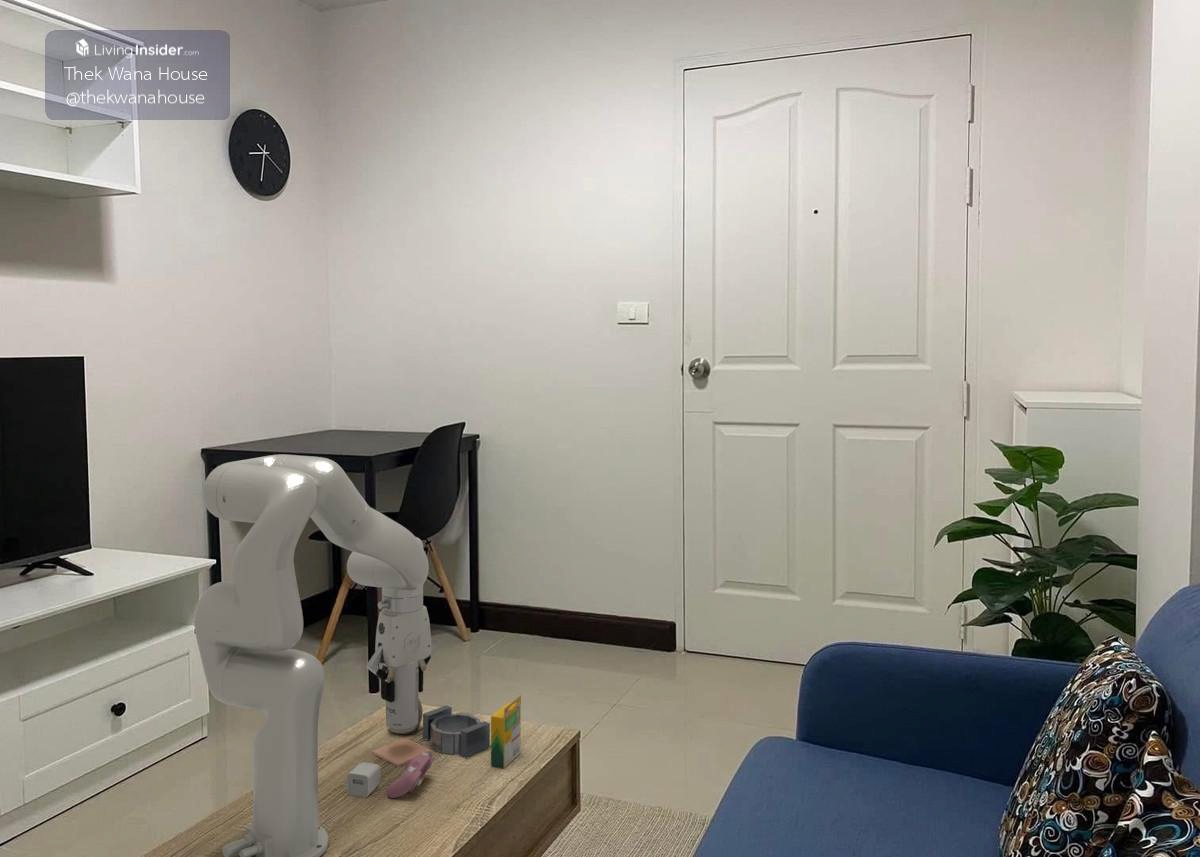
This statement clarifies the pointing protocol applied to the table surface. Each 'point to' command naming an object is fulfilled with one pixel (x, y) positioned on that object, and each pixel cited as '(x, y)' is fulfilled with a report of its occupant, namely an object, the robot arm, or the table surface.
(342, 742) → the table surface
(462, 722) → the ring holder
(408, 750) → the coaster
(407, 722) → the energy drink can
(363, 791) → the usb wall charger
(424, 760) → the video game controller
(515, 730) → the crayon box
